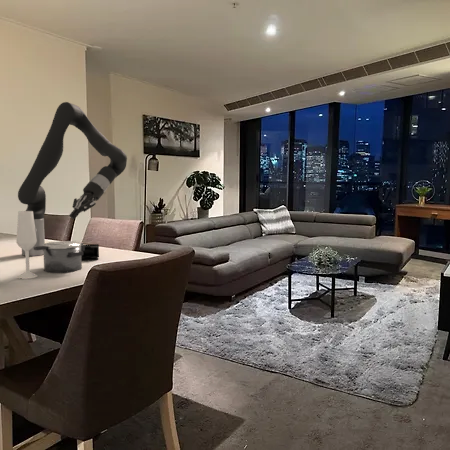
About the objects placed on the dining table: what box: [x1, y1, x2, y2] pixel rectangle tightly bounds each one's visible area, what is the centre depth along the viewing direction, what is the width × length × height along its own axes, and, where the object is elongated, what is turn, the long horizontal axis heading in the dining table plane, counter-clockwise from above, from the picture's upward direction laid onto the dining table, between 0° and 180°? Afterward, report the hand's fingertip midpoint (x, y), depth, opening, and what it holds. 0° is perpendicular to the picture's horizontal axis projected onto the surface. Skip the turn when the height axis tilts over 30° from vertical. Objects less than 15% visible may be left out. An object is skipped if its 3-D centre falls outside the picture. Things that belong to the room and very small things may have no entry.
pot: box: [43, 244, 86, 274], centre depth 161 cm, size 16×20×9 cm
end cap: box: [81, 243, 100, 262], centre depth 182 cm, size 10×7×7 cm
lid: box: [34, 240, 85, 250], centre depth 159 cm, size 19×14×1 cm
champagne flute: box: [15, 210, 39, 280], centre depth 146 cm, size 7×7×24 cm
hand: (71, 217), depth 163 cm, fingers closed
